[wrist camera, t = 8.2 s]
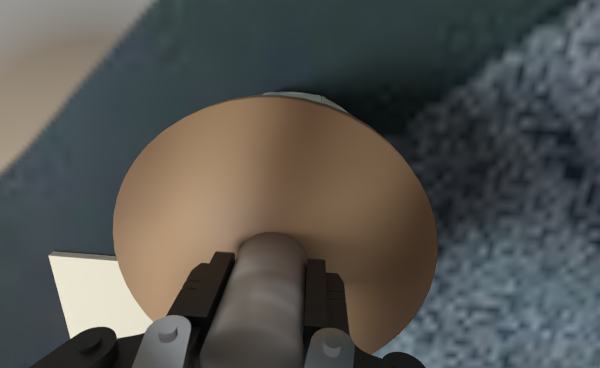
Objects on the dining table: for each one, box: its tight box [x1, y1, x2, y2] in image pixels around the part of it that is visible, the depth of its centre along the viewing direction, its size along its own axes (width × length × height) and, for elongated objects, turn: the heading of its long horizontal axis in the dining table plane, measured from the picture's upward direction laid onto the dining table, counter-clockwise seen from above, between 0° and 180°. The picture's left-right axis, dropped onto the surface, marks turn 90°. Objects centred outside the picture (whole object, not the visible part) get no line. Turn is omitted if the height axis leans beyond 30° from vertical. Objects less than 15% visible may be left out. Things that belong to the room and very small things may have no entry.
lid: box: [113, 95, 438, 368], centre depth 12 cm, size 14×14×6 cm
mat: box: [49, 251, 153, 338], centre depth 29 cm, size 15×15×1 cm
